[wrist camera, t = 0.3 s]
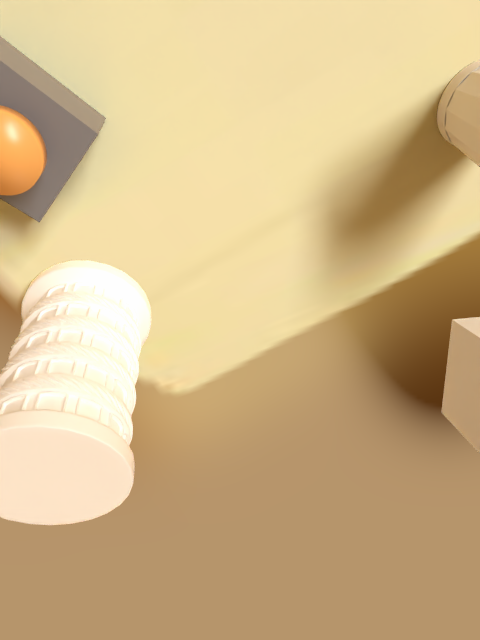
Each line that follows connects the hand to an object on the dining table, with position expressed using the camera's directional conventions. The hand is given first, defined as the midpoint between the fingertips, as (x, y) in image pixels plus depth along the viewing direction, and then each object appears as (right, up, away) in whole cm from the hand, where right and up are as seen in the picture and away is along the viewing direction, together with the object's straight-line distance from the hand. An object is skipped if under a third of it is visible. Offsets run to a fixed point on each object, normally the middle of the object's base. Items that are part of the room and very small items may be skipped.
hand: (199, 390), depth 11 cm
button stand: (-14, +16, +21) cm, 30 cm away
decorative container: (-13, +3, +31) cm, 34 cm away
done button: (-14, +13, +17) cm, 25 cm away
